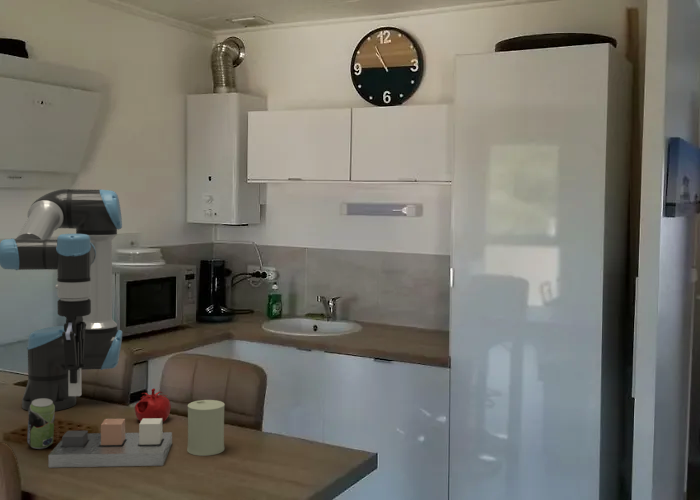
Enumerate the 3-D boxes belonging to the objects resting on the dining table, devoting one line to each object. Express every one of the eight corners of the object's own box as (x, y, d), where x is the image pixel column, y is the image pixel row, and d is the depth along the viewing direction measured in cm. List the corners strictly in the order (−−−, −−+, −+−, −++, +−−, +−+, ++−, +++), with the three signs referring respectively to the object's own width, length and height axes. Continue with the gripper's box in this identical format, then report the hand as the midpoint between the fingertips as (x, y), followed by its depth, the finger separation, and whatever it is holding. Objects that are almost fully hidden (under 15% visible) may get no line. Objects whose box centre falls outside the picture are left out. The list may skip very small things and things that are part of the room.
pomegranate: (169, 415, 222) (169, 383, 221) (172, 424, 212) (173, 391, 212) (133, 417, 218) (134, 384, 218) (135, 426, 209) (136, 392, 209)
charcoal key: (67, 450, 187) (67, 430, 187) (87, 450, 188) (87, 430, 187) (62, 457, 182) (62, 436, 182) (83, 457, 183) (82, 436, 183)
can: (210, 441, 198) (211, 395, 197) (231, 450, 191) (232, 403, 190) (179, 449, 191) (180, 402, 190) (200, 458, 185) (200, 409, 184)
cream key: (142, 438, 189) (142, 418, 189) (162, 438, 189) (162, 418, 189) (139, 444, 184) (139, 424, 184) (159, 444, 185) (159, 423, 184)
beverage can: (45, 440, 196) (45, 394, 195) (60, 447, 191) (60, 400, 190) (21, 446, 191) (21, 399, 190) (36, 453, 186) (36, 405, 186)
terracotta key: (105, 438, 188) (105, 418, 188) (125, 438, 188) (125, 418, 188) (100, 445, 183) (100, 424, 183) (121, 444, 184) (121, 424, 183)
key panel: (67, 445, 193) (67, 433, 192) (171, 443, 195) (171, 432, 195) (48, 467, 177) (48, 454, 177) (163, 465, 179) (163, 453, 179)
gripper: (65, 294, 189) (66, 388, 191) (50, 302, 176) (51, 403, 178) (96, 294, 189) (97, 388, 191) (83, 302, 176) (84, 402, 178)
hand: (75, 395), depth 184 cm, fingers closed
